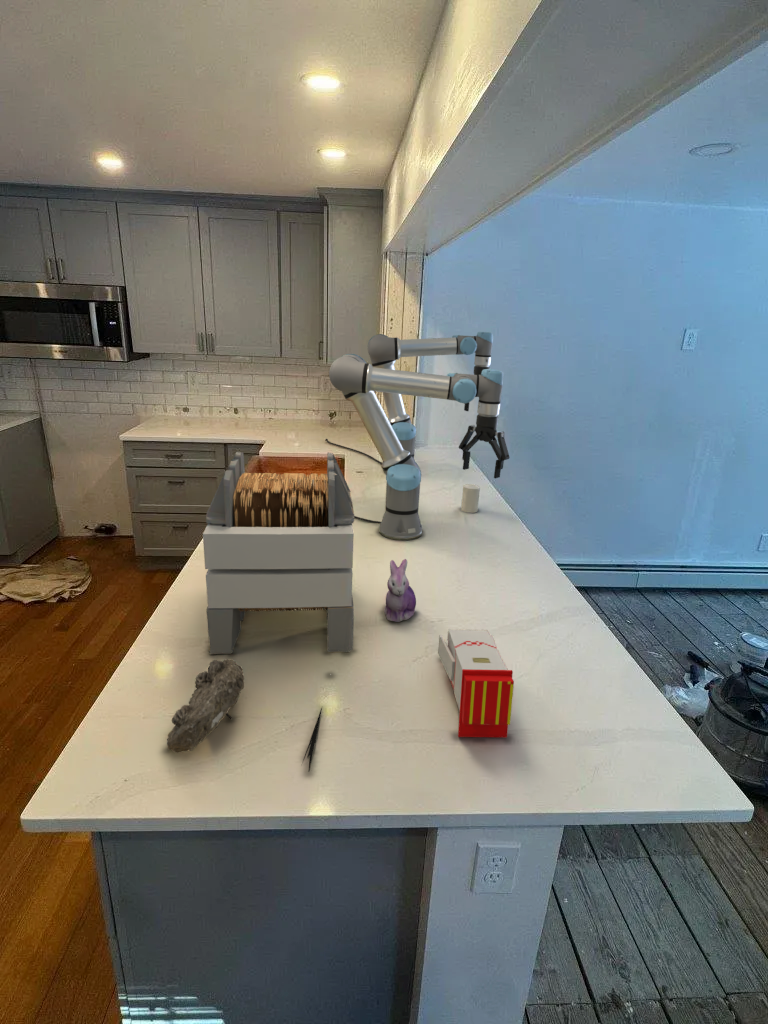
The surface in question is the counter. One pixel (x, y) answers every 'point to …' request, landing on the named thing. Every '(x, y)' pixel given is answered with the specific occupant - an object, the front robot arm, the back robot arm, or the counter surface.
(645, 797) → the counter surface
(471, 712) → the toy
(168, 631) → the counter surface
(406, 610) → the figurine
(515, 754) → the counter surface
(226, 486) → the record storage crate
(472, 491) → the cylinder
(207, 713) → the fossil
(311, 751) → the feather
